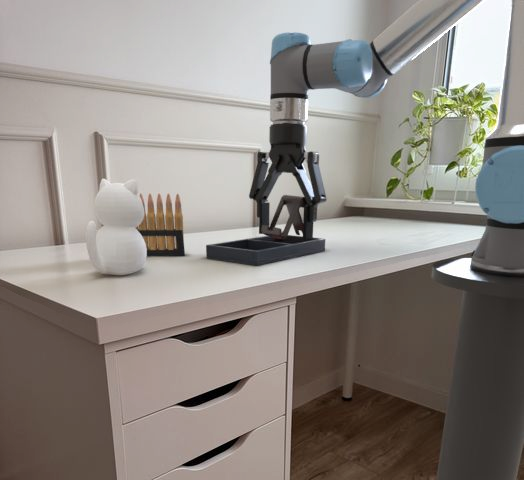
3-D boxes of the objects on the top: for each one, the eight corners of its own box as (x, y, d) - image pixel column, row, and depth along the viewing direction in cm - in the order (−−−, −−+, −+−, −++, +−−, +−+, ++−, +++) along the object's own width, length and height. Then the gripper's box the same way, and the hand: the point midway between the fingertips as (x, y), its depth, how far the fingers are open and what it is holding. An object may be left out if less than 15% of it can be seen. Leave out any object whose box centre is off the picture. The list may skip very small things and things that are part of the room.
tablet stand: (260, 235, 113) (261, 195, 110) (292, 233, 116) (293, 194, 113) (279, 239, 105) (280, 197, 103) (312, 238, 109) (314, 196, 106)
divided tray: (324, 250, 113) (325, 238, 112) (256, 265, 95) (256, 251, 94) (278, 245, 120) (278, 233, 119) (206, 258, 102) (205, 244, 101)
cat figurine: (160, 268, 91) (155, 178, 86) (118, 282, 80) (109, 180, 75) (117, 265, 94) (110, 178, 89) (70, 277, 82) (59, 179, 78)
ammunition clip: (130, 256, 103) (126, 193, 99) (131, 254, 105) (127, 193, 101) (184, 255, 104) (182, 193, 100) (184, 254, 106) (182, 193, 102)
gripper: (232, 124, 107) (232, 232, 115) (329, 119, 94) (322, 242, 101) (254, 126, 113) (253, 229, 120) (348, 123, 100) (341, 238, 107)
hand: (285, 235), depth 111 cm, fingers closed on tablet stand, 11 cm apart
